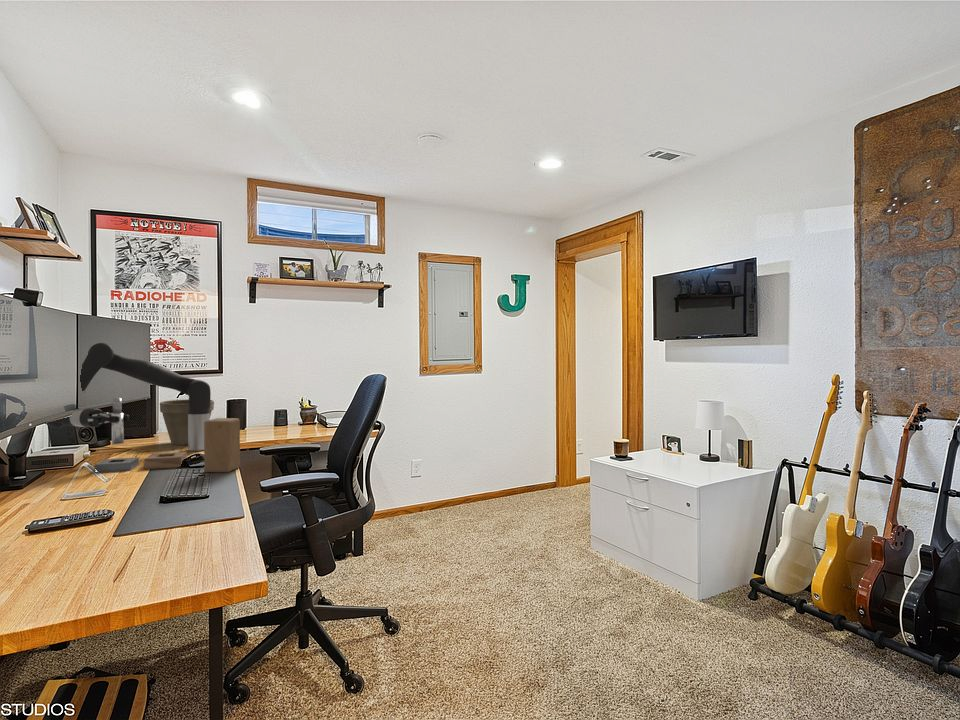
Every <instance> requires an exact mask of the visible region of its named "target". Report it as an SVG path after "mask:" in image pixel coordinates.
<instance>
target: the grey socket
mask: <svg viewBox="0 0 960 720" xmlns="http://www.w3.org/2000/svg"><path fill="white" fill-rule="evenodd" d="M139 458H140V457H120V458H117V457H116V458H104V459H102V460H100V461H99V462H96V463H95V464H94V470H95V469H96V470H97V471H98V472H97V473H106V472H107V473H108V472H124V471H132V470H133V469H134V468H136V467H137V466H139V462H140V461H139V460H140V459H139Z"/></svg>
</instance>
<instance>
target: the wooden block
mask: <svg viewBox="0 0 960 720" xmlns="http://www.w3.org/2000/svg"><path fill="white" fill-rule="evenodd" d="M240 423H241V421H240V418H237V417H236V418H235V417H231V418H230V417H229V418H228V417H224V418H223V417H219V418H218V417H216V418H212V419H210V420H207V421H205V422H204V450H203V451H204V452H203V456H204V457H203V459H204V460H203V462H204V463H203V465H204V466H203V468H204V469H203V470H204V473H230V472H232V471H234V470H237V469H239V468H240V467H241V447H240V446H241V437H240V436H241V424H240Z"/></svg>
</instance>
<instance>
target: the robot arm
mask: <svg viewBox="0 0 960 720" xmlns="http://www.w3.org/2000/svg"><path fill="white" fill-rule="evenodd" d="M87 353H88V355H87V354H86V357H85V358H84V360H83V362H82V364H81V365H82V369H81V375H80V382H81V388H82V391H84V392H86V389H87V388H88V386H90V384H91V382H92V380H93V378H94V377H95V375H97V373H98V372H99V371H100V370H101V369H106V370H109V371H113V372H117V373H120V374H122V375H125V376H127V377H131V378H134V379H136V380H139V381H142V382H144V383H146V384H147V383H148V384H150V385H154V386H157V387H159V388H160V387H161V388H167V389H171V390H175V391H177V392H180V393H182V394H184V395H186V396H188V399H189V407H188V445H187V447H188V449H187V451H193V452H197V451H204V422H205V421H207V420H211V416H210V400H211V395H212V393H211V387H210V384H209V383H208V382H206V381H205V380H200V379H194V378H191V377H188V376H183V375H181V374H179V373H176V372H175V371H173V370H171V369H169V368H167V367H164V366H163V365H160V364H156V363H155V362H151V361H149V360H141V359H135V358H129V357H125V356H122V355H120V354H117V353H116V352H114V349H113V347H112V346H111V345H110V344H108V343H106V342H105V343H104V342H98V343H95V344H92V346H90V347H89V349H88V351H87ZM73 409H74V410H73V413H72V416H70V417H67V418H63V419H60V420H56V421H53V422H49V423H44V425H47V426H48V427H50V428H51V429H55V430H56V429H57V430H58V429H61V428H62V427H64V426H67V427H80V428H98V427H100V426H101V425H102V424H107V423H109V424H110V423H112V422H119V421H120V417H119V416H111V414H112V413H113V412H104V411H103V410H102V409H100V408H91V407H90V408H87V407H85V408H83V407H82V408H73ZM123 418H124V421H129V420H130V415H129V414H125V413H123Z"/></svg>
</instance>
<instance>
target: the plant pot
mask: <svg viewBox="0 0 960 720" xmlns="http://www.w3.org/2000/svg"><path fill="white" fill-rule="evenodd" d="M188 407H189V398H188V399H172V400H171V399H170V400H165V401H160V402H159V411H160V413H162V417H163V420H164V424H165V427H166V430H167V434H168V437H169V440H170V443H171V444H172V445H174V446H188ZM214 408H215V401H214V399H213V400H211V399H210V417H211V415H212V411H213V410H214Z"/></svg>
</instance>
